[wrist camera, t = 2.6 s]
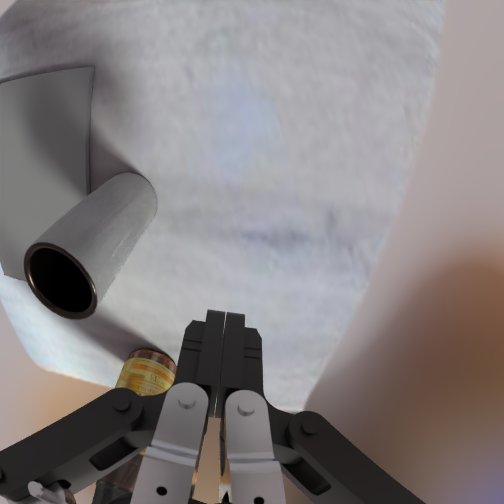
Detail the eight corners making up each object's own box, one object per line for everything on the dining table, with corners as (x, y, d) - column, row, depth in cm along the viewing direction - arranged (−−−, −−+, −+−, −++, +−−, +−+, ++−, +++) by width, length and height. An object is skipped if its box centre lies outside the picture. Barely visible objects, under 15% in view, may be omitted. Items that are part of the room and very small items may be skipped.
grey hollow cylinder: (119, 235, 21) (57, 326, 13) (94, 185, 19) (9, 257, 10) (167, 217, 21) (115, 313, 12) (142, 162, 19) (60, 229, 10)
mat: (-17, 88, 13) (-21, 89, 13) (94, 66, 15) (90, 66, 14) (7, 271, 24) (4, 274, 23) (102, 296, 25) (100, 300, 24)
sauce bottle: (190, 364, 30) (165, 541, 13) (164, 384, 32) (136, 533, 15) (138, 335, 27) (86, 520, 10) (117, 359, 30) (72, 512, 13)
